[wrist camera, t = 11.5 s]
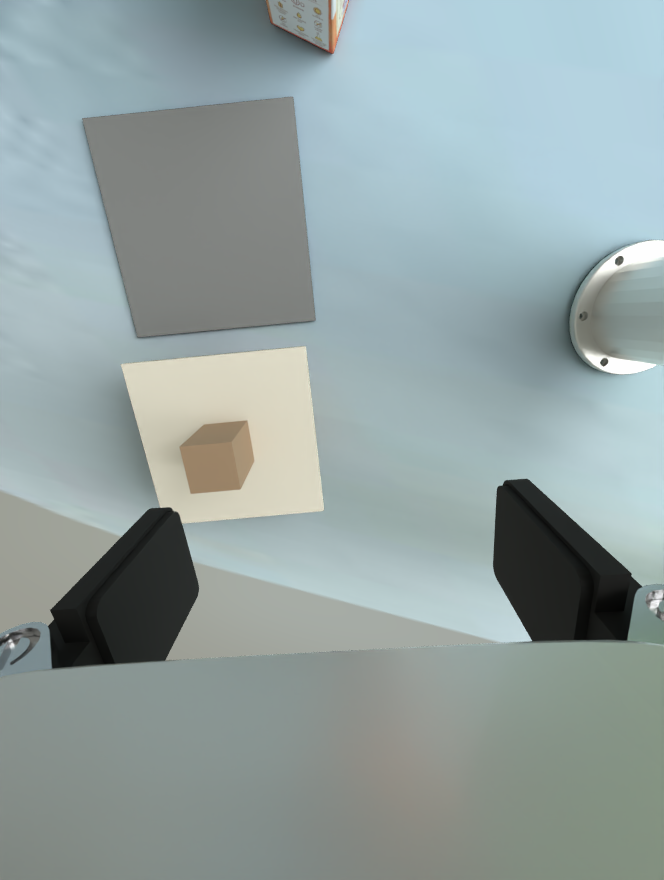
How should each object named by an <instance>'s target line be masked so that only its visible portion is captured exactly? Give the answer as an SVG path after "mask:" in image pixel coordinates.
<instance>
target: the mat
mask: <svg viewBox="0 0 664 880" xmlns="http://www.w3.org/2000/svg"><path fill="white" fill-rule="evenodd" d="M82 120H83V124H84V128H85V132H86V136H87V139H88V143H89V147H90V151H91V155H92V159H93V163H94V167H95V171H96V175H97V179H98V183H99V187H100V191H101V195H102V199H103V203H104V207H105V211H106V215H107V218H108V222H109V226H110V230H111V234H112V238H113V242H114V246H115V250H116V254H117V258H118V262H119V266H120V270H121V274H122V278H123V282H124V286H125V290H126V294H127V297H128V301H129V305H130V309H131V313H132V317H133V321H134V325H135V329H136V333H137V337H147V336H157V335H168V334H178V333H189V332H199V331H210V330H220V329H231V328H241V327H252V326H262V325H272V324H283V323H293V322H304V321H314V320H315V310H314V300H313V290H312V280H311V269H310V259H309V249H308V239H307V229H306V219H305V209H304V199H303V189H302V179H301V169H300V159H299V149H298V139H297V129H296V119H295V109H294V99H293V97H284V98H275V99H265V100H255V101H246V102H236V103H226V104H217V105H207V106H197V107H188V108H178V109H169V110H159V111H149V112H140V113H130V114H120V115H111V116H101V117H91V118H82Z"/></svg>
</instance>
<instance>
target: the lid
mask: <svg viewBox="0 0 664 880" xmlns="http://www.w3.org/2000/svg"><path fill="white" fill-rule="evenodd" d="M121 367H122V370H123V374H124V378H125V381H126V385H127V389H128V392H129V396H130V399H131V403H132V407H133V410H134V414H135V418H136V421H137V425H138V428H139V432H140V436H141V439H142V443H143V447H144V450H145V454H146V458H147V461H148V465H149V468H150V472H151V476H152V479H153V483H154V487H155V490H156V494H157V497H158V501H159V505H160V508H164V507H170V508H172V509H173V511H176V512H178V513H179V515H180V518H181V522H182V524H184V523H195V522H206V521H217V520H228V519H240V518H251V517H262V516H273V515H284V514H295V513H306V512H317V511H324V503H323V495H322V486H321V477H320V468H319V459H318V450H317V441H316V432H315V423H314V414H313V405H312V396H311V387H310V378H309V369H308V360H307V352H306V346H300V347H289V348H279V349H268V350H258V351H248V352H237V353H227V354H217V355H206V356H196V357H185V358H175V359H165V360H154V361H144V362H133V363H125V364H121Z"/></svg>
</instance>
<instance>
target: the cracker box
mask: <svg viewBox="0 0 664 880" xmlns="http://www.w3.org/2000/svg"><path fill="white" fill-rule="evenodd" d="M266 3H267V7H268V13H269V17H270V21H271V23H272V24H274V25H276V26H278V27H280V28H282V29H283V30H285V31H287V32H289V33H291V34H293V35H295V36H297V37H299V38H301V39H303V40H305V41H307V42H309V43H311V44H313V45H315V46H317V47H319V48H321V49H324V50H326V51H328V52H329V53H331V54H333V53H334V50H335V47H336V43H337V40H338V37H339V33H340V30H341V26H342V23H343V20H344V16H345V13H346V10H347V6H348V3H349V0H266Z"/></svg>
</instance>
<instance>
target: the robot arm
mask: <svg viewBox="0 0 664 880" xmlns="http://www.w3.org/2000/svg"><path fill="white" fill-rule="evenodd" d="M579 315H580V317H579ZM569 321H570V335H571V340H572V343H573V346H574V348H575V350H576V352H577V353H578V355H579V356H580V357H581V359H582V360H583V361H584V362H586V363H587V364H588V365H589V366H591V367H593V368H595V369H597V370H599V371H602V372H607V373H611V374H620V375H625V374H634V373H638V372H642V371H645V370H647V369H650V368H652V367H654V366H656V365H661V366H664V240H648V241H642V242H637V243H634V244H631V245H627V246H624V247H622V248H620V249H618V250H616V251H614V252H612V253H611V254H610V255H608V256H607V257H606V258H604V259H603V260H601V261H600V262H599V263H598V264H597V265H596V266H595V267H594V268H593V269H592V270H591V271H590V273H589V274H588V275H587V277H586V278H585V279H584V281H583V282H582V284H581V286H580V288H579V290H578V291H577V293H576V296H575V298H574V301H573V304H572V307H571V314H570V320H569ZM493 568H494V573H495V576H496V578H497V580H498V582H499V584H500V585H501V587H502V589H503V591H504V592H505V594H506V596H507V598H508V599H509V601H510V603H511V605H512V606H513V608H514V610H515V612H516V613H517V615H518V617H519V618H520V620H521V622H522V624H523V625H524V627H525V629H526V631H527V632H528V634H529V636H530V638H531V639H532V641H530V642H509V643H488V644H467V645H447V646H426V647H409V648H408V647H407V648H389V649H370V650H351V651H332V652H314V653H297V654H296V653H295V654H277V655H257V656H239V657H222V658H221V657H219V658H202V659H184V660H168V661H165V660H166V657H167V656H168V654H169V651H170V650H171V648H172V646H173V644H174V641H175V640H176V638H177V636H178V634H179V632H180V630H181V628H182V626H183V624H184V622H185V620H186V618H187V616H188V614H189V612H190V610H191V608H192V606H193V604H194V602H195V600H196V598H197V596H198V592H199V585H198V581H197V577H196V573H195V570H194V566H193V562H192V559H191V555H190V551H189V548H188V544H187V540H186V537H185V533H184V529H183V526H182V522H181V518H180V515H179V513H178V512H176V511H173V509H172V508H170V507H164V508H152V509H149V510H147V512H146V513H145V514H144V515H143V516H142V517H141V518H140V519H139V520H138V521H137V522H136V523H135V524H134V525H133V526H132V527H131V528H130V529H129V530H128V531H127V532H126V533H125V534H124V535H123V536H122V537H121V538H120V539H119V540H118V541H117V542H116V543H115V544H114V545H113V547H111V549H110V550H109V551H108V552H107V553H106V554H105V555H104V556H103V557H102V558H101V559H100V560H99V561H98V562H97V563H96V564H95V565H94V566H93V567H92V568H91V569H90V570H89V571H88V572H87V573H86V574H85V575H84V576H83V577H82V578H81V579H80V580H79V581H78V582H77V583H76V584H75V586H73V587H72V588H71V590H70V591H69V592H68V593H67V594H66V595H65V596H64V597H63V598H62V599H61V600H60V601H59V602H58V603H57V604H56V605H55V606H54V607H53V608H52V609H51V610H50V611H51V613H52V615H53V617H54V620H53V621H52V623H51V624H50V625H49V626H47V625H46V624H44V623H41V622H31V623H27V624H22V625H19V626H17V627H14V628H11V629H9V630H7V631H5V632H3V633H1V634H0V880H664V585H662V584H653V585H646V586H644V587H642V586H641V585H640V584H639V583H638V582H637V581H636V580H634V579H633V578H632V577H631V574H632V573H630V572H629V571H628V570H627V569H626V568H625V567H624V566H623V565H622V564H621V563H619V562H618V561H617V560H616V559H615V558H614V557H613V556H612V555H611V554H610V553H609V552H607V551H606V550H605V549H604V548H603V547H602V546H601V545H600V544H599V543H598V542H596V541H595V540H594V539H593V538H592V537H591V536H590V535H589V534H588V533H587V532H585V531H584V530H583V529H582V528H581V527H580V526H579V525H578V524H577V523H576V522H574V521H573V520H572V519H571V518H570V517H569V516H568V515H567V514H566V513H565V512H564V511H562V510H561V509H560V508H559V507H558V506H557V505H556V504H555V503H554V502H553V501H551V500H550V499H549V498H548V497H547V496H546V495H545V494H544V493H543V492H542V491H540V490H539V489H538V488H537V487H536V486H535V485H534V484H533V483H532V482H531V481H530V480H528V479H517V480H506V481H505V482H504V483H503V486H499V487H498V488H497V498H496V518H495V538H494V558H493Z"/></svg>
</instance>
